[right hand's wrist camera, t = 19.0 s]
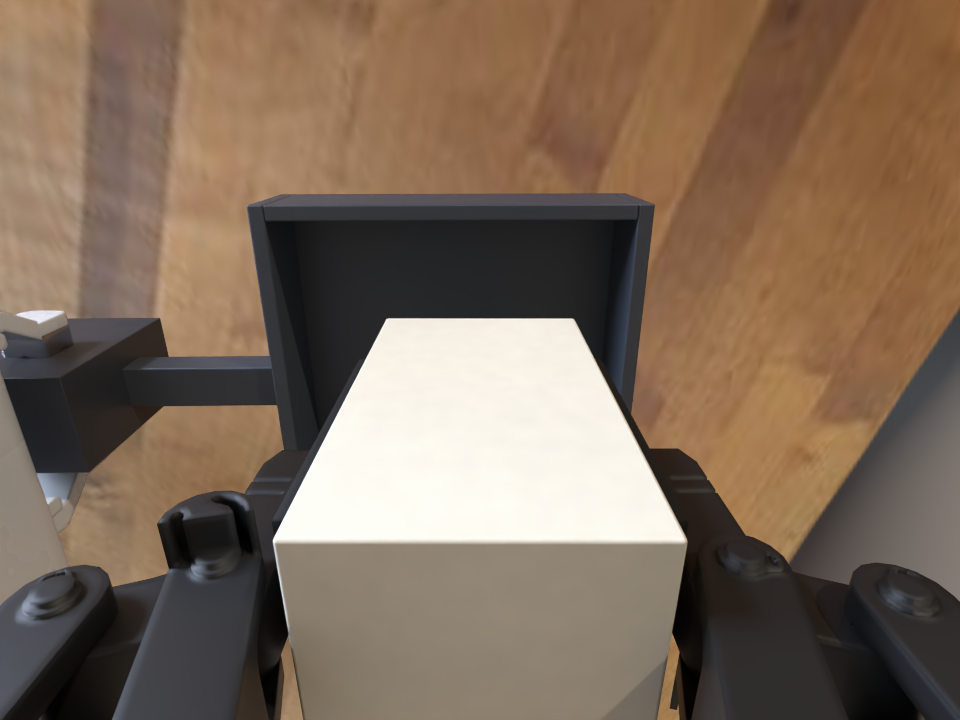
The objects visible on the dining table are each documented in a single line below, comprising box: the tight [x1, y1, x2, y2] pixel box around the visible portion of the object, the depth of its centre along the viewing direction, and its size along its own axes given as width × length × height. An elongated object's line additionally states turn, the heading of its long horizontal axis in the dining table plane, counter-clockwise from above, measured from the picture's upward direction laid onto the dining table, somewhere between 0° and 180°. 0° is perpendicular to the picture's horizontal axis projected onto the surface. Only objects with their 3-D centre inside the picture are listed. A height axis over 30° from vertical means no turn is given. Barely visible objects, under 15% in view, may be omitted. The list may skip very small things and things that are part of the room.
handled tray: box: [0, 193, 655, 473], centre depth 24 cm, size 27×15×7 cm, turn 90°
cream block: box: [273, 318, 688, 720], centre depth 11 cm, size 5×5×8 cm
